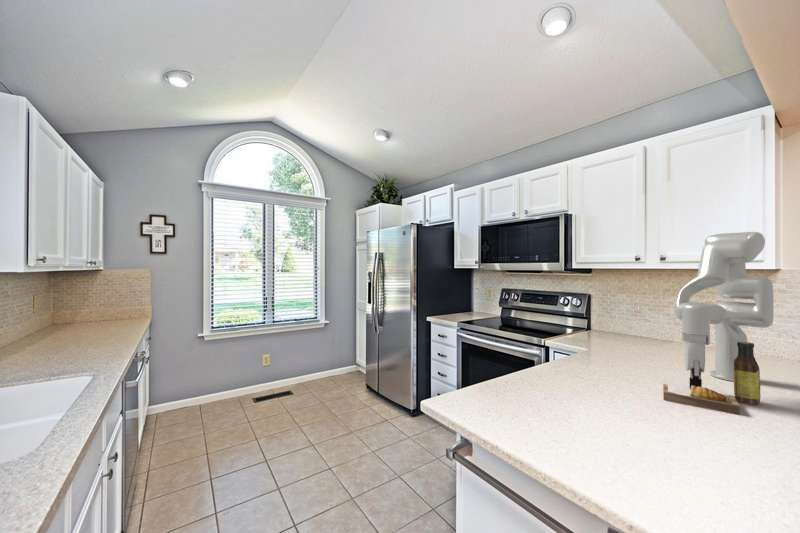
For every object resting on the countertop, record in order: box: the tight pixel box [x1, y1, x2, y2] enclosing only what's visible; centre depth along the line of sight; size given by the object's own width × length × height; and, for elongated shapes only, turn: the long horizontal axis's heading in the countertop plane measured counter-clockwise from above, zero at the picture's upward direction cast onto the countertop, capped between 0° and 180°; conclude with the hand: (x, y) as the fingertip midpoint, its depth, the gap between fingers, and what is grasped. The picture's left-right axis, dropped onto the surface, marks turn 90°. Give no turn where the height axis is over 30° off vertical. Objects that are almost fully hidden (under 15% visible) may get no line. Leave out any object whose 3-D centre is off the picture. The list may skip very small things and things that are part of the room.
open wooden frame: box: [662, 383, 741, 415], centre depth 113 cm, size 11×18×2 cm, turn 52°
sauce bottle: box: [733, 341, 761, 405], centre depth 114 cm, size 7×6×20 cm
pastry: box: [689, 385, 727, 403], centre depth 116 cm, size 9×7×4 cm
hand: (695, 389), depth 122 cm, fingers closed
